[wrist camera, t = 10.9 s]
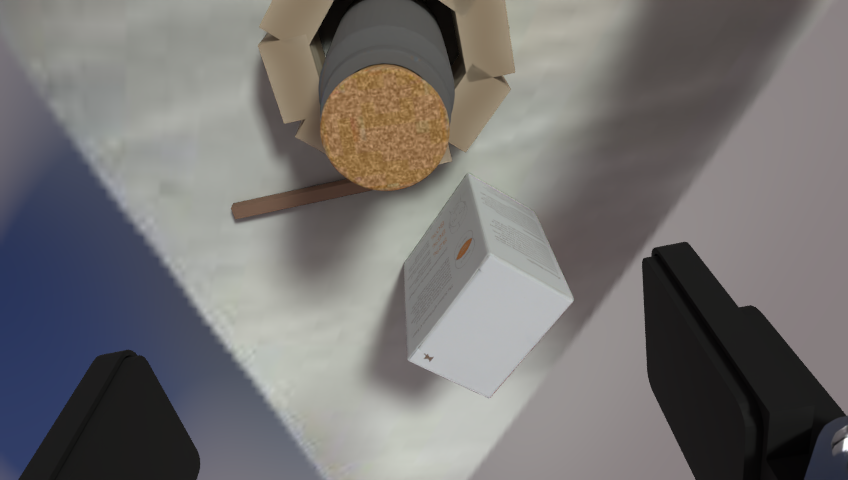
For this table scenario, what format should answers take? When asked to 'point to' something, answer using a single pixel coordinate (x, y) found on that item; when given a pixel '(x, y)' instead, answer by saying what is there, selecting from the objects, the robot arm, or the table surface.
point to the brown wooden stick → (296, 198)
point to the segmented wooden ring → (472, 70)
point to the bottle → (386, 94)
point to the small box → (481, 288)
